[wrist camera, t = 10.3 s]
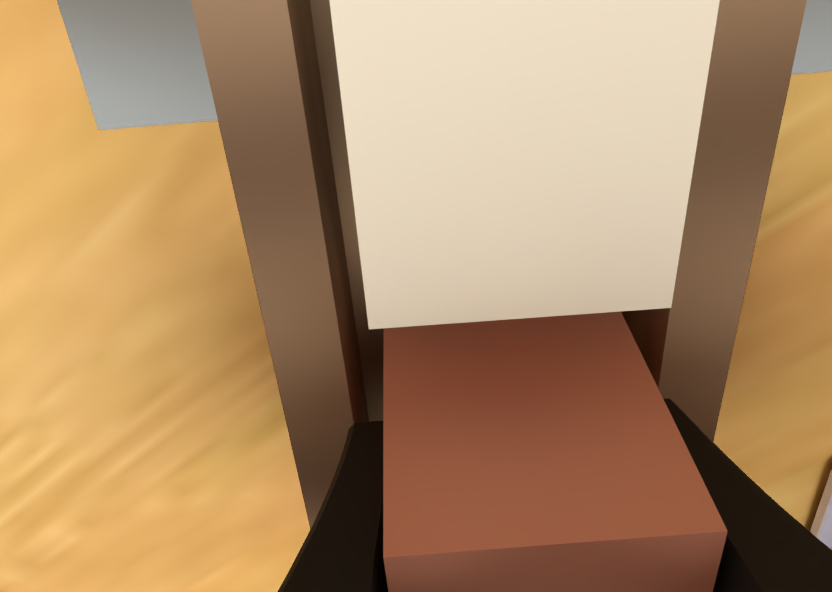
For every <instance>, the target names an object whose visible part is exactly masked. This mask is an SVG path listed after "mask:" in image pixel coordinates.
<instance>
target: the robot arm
mask: <svg viewBox="0 0 832 592" xmlns="http://www.w3.org/2000/svg"><path fill="white" fill-rule="evenodd" d="M664 401H665V403H666V405H667V407H668V409H669V412H670V414H671V416H672V418H673V420H674V422H675V424H676V426H677V428H678V430H679V432H680V434H681V436H682V438H683V440H684V442H685V444H686V446H687V449H688V451H689V453H690V455H691V457H692V459H693V461H694V463H695V465H696V467H697V469H698V471H699V473H700V475H701V477H702V479H703V481H704V483H705V486H706V488H707V490H708V492H709V494H710V496H711V498H712V500H713V502H714V504H715V506H716V508H717V510H718V512H719V514H720V516H721V518H722V520H723V523H724V525H725V527H726V529H727V531H728V532H727V536H726V540H725V544H724V548H723V552H722V556H721V560H720V564H719V568H718V572H717V577H716V581H715V585H714V589H713V592H832V470H831V472H830V475H829V478H828V481H827V483H826V486H825V489H824V492H823V495H822V498H821V501H820V504H819V507H818V510H817V512H816V515H815V518H814V521H813V524H812V527H811V530H810V531H808V530H807V529H806V528H805V527H804V526H802V525H801V524H800V523H799V522H798V521H797V520H795V519H794V518H793V517H792V516H791V515H790V514H788V513H787V512H786V511H785V510H784V509H783V508H782V507H781V506H780V505H778V504H777V503H776V502H775V501H774V500H773V499H772V498H771V497H770V496H768V495H767V494H766V493H765V492H764V491H763V490H762V489H761V488H760V487H759V486H758V485H757V484H756V483H755V482H754V481H752V480H751V479H750V478H749V477H748V476H747V475H746V474H745V473H744V472H743V471H742V470H741V469H740V468H739V467H738V466H737V465H736V464H735V463H734V462H732V461H731V460H730V459H729V458H728V457H727V456H726V455H725V454H724V453H723V452H722V451H721V450H720V449H719V448H718V447H717V446H716V445H715V444H714V443H713V442H712V441H711V440H710V439H709V438H708V437H707V436H706V435H705V433H704V432H703V431H702V430H701V429H700V428H699V427H698V426H697V425H696V424H695V423H694V422H693V421H692V420H691V419H690V418H689V417H688V416H687V415H686V414H685V413H684V412H683V411H682V410H681V409H680V408H679V407H678V406H677V405H676V404H675V403H674V402H673V401H672V400H671V399H670V398H669V399H664ZM278 592H388V586H387V579H386V572H385V565H384V559H383V421H372V422H359V423H354V424H353V425H352V426H351V427H350V428H349V430H348V434H347V438H346V442H345V445H344V449H343V452H342V455H341V458H340V461H339V464H338V466H337V469H336V472H335V474H334V477H333V479H332V482H331V484H330V487H329V489H328V492H327V494H326V496H325V499H324V501H323V503H322V505H321V508H320V510H319V512H318V514H317V517H316V519H315V521H314V523H313V525H312V528H311V530H310V532H309V534H308V536H307V538H306V540H305V542H304V543H303V545H302V547H301V549H300V551H299V553H298V555H297V557H296V559H295V561H294V563H293V565H292V567H291V569H290V570H289V572H288V574H287V576H286V578H285V580H284V581H283V583H282V585H281V587H280V588H279V590H278Z"/></svg>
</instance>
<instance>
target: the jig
mask: <svg viewBox="0 0 832 592" xmlns="http://www.w3.org/2000/svg"><path fill="white" fill-rule="evenodd" d="M57 2H58V5H59V9H60V12H61V15H62V18H63V21H64V24H65V27H66V30H67V33H68V37H69V40H70V43H71V46H72V49H73V52H74V55H75V58H76V61H77V64H78V68H79V71H80V74H81V77H82V80H83V83H84V86H85V89H86V92H87V96H88V99H89V102H90V105H91V108H92V111H93V114H94V117H95V120H96V124H97V127H98V130H105V129H117V128H130V127H142V126H155V125H167V124H180V123H192V122H205V121H217V120H218V122H219V127H220V131H221V136H222V140H223V144H224V149H225V153H226V158H227V162H228V167H229V171H230V175H231V180H232V184H233V189H234V193H235V198H236V202H237V206H238V211H239V215H240V220H241V224H242V228H243V233H244V237H245V242H246V246H247V251H248V255H249V259H250V264H251V268H252V273H253V277H254V282H255V286H256V290H257V295H258V299H259V304H260V308H261V312H262V317H263V321H264V326H265V330H266V335H267V339H268V343H269V348H270V352H271V357H272V361H273V366H274V370H275V374H276V379H277V383H278V388H279V392H280V396H281V401H282V405H283V410H284V414H285V419H286V423H287V427H288V432H289V436H290V441H291V445H292V450H293V454H294V458H295V463H296V467H297V472H298V476H299V481H300V485H301V489H302V494H303V498H304V503H305V507H306V511H307V516H308V520H309V525H310V529H311V528H312V525H313V523H314V521H315V519H316V517H317V514H318V512H319V510H320V508H321V505H322V503H323V501H324V499H325V496H326V494H327V492H328V489H329V487H330V484H331V482H332V479H333V477H334V474H335V472H336V469H337V466H338V464H339V461H340V458H341V455H342V452H343V449H344V445H345V442H346V438H347V434H348V430H349V428H350V427H351V426H352V425H353V424H354V423H359V422H372V421H383V360H384V328H381V329H369V327H368V318H367V310H366V302H365V293H364V285H363V277H362V268H361V260H360V252H359V243H358V235H357V227H356V218H355V210H354V202H353V193H352V185H351V177H350V168H349V160H348V152H347V143H346V135H345V127H344V118H343V110H342V102H341V93H340V85H339V77H338V68H337V60H336V52H335V43H334V35H333V26H332V18H331V10H330V1H329V0H57ZM828 71H832V0H720V2H719V8H718V15H717V21H716V27H715V34H714V40H713V46H712V53H711V59H710V65H709V72H708V78H707V84H706V91H705V97H704V103H703V109H702V116H701V122H700V128H699V135H698V141H697V147H696V154H695V160H694V166H693V173H692V179H691V185H690V192H689V198H688V204H687V211H686V217H685V223H684V230H683V236H682V242H681V249H680V255H679V261H678V268H677V274H676V280H675V287H674V293H673V299H672V306H671V308H662V309H648V310H634V311H621V313H622V315H623V317H624V319H625V321H626V323H627V325H628V327H629V329H630V331H631V333H632V335H633V338H634V340H635V342H636V344H637V346H638V348H639V350H640V352H641V354H642V356H643V358H644V360H645V362H646V364H647V366H648V368H649V370H650V372H651V375H652V377H653V379H654V381H655V383H656V385H657V387H658V389H659V391H660V393H661V395H662V397H663V399H669V398H670V399H671V400H672V401H673V402H674V403H675V404H676V405H677V406H678V407H679V408H680V409H681V410H682V411H683V412H684V413H685V414H686V415H687V416H688V417H689V418H690V419H691V420H692V421H693V422H694V423H695V424H696V425H697V426H698V427H699V428H700V429H701V430H702V431H703V432H704V433H705V435H706V436H707V437H708V438H709V439H710V440H711V441H712V442H713V440H714V435H715V430H716V426H717V421H718V416H719V411H720V407H721V402H722V397H723V393H724V388H725V383H726V379H727V374H728V369H729V364H730V360H731V355H732V350H733V346H734V341H735V336H736V331H737V327H738V322H739V317H740V313H741V308H742V303H743V298H744V294H745V289H746V284H747V280H748V275H749V270H750V266H751V261H752V256H753V251H754V247H755V242H756V237H757V233H758V228H759V223H760V218H761V214H762V209H763V204H764V200H765V195H766V190H767V186H768V181H769V176H770V171H771V167H772V162H773V157H774V153H775V148H776V143H777V138H778V134H779V129H780V124H781V120H782V115H783V110H784V105H785V101H786V96H787V91H788V87H789V82H790V77H791V74H803V73H816V72H828Z"/></svg>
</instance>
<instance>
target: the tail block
mask: <svg viewBox="0 0 832 592" xmlns="http://www.w3.org/2000/svg"><path fill="white" fill-rule="evenodd" d="M727 532H728V531H727V529H726V527H725V525H724V523H723V520H722V518H721V516H720V514H719V512H718V510H717V508H716V506H715V504H714V502H713V500H712V498H711V496H710V494H709V492H708V490H707V488H706V486H705V483H704V481H703V479H702V477H701V475H700V473H699V471H698V469H697V467H696V465H695V463H694V461H693V459H692V457H691V455H690V453H689V451H688V449H687V446H686V444H685V442H684V440H683V438H682V436H681V434H680V432H679V430H678V428H677V426H676V424H675V422H674V420H673V418H672V416H671V414H670V412H669V409H668V407H667V405H666V403H665V401H664V399H663V397H662V395H661V393H660V391H659V389H658V387H657V385H656V383H655V381H654V379H653V377H652V375H651V372H650V370H649V368H648V366H647V364H646V362H645V360H644V358H643V356H642V354H641V352H640V350H639V348H638V346H637V344H636V342H635V340H634V338H633V335H632V333H631V331H630V329H629V327H628V325H627V323H626V321H625V319H624V317H623V315H622V313H621V311H620V312H606V313H592V314H578V315H564V316H550V317H536V318H522V319H508V320H494V321H480V322H466V323H451V324H437V325H423V326H409V327H395V328H384V360H383V559H384V565H385V572H386V579H387V586H388V592H713V589H714V585H715V581H716V577H717V572H718V568H719V564H720V560H721V556H722V552H723V548H724V544H725V540H726V536H727Z"/></svg>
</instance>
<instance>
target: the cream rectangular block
mask: <svg viewBox="0 0 832 592" xmlns="http://www.w3.org/2000/svg"><path fill="white" fill-rule="evenodd" d="M329 1H330V10H331V18H332V26H333V35H334V43H335V52H336V60H337V68H338V77H339V85H340V93H341V102H342V110H343V118H344V127H345V135H346V143H347V152H348V160H349V168H350V177H351V185H352V193H353V202H354V210H355V218H356V227H357V235H358V243H359V252H360V260H361V268H362V277H363V285H364V293H365V302H366V310H367V318H368V327H369V329H381V328H395V327H409V326H423V325H437V324H451V323H466V322H480V321H494V320H508V319H522V318H536V317H550V316H564V315H578V314H592V313H606V312H620V311H634V310H648V309H662V308H671V306H672V299H673V293H674V287H675V280H676V274H677V268H678V261H679V255H680V249H681V242H682V236H683V230H684V223H685V217H686V211H687V204H688V198H689V192H690V185H691V179H692V173H693V166H694V160H695V154H696V147H697V141H698V135H699V128H700V122H701V116H702V109H703V103H704V97H705V91H706V84H707V78H708V72H709V65H710V59H711V53H712V46H713V40H714V34H715V27H716V21H717V15H718V8H719V2H720V0H329Z"/></svg>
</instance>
